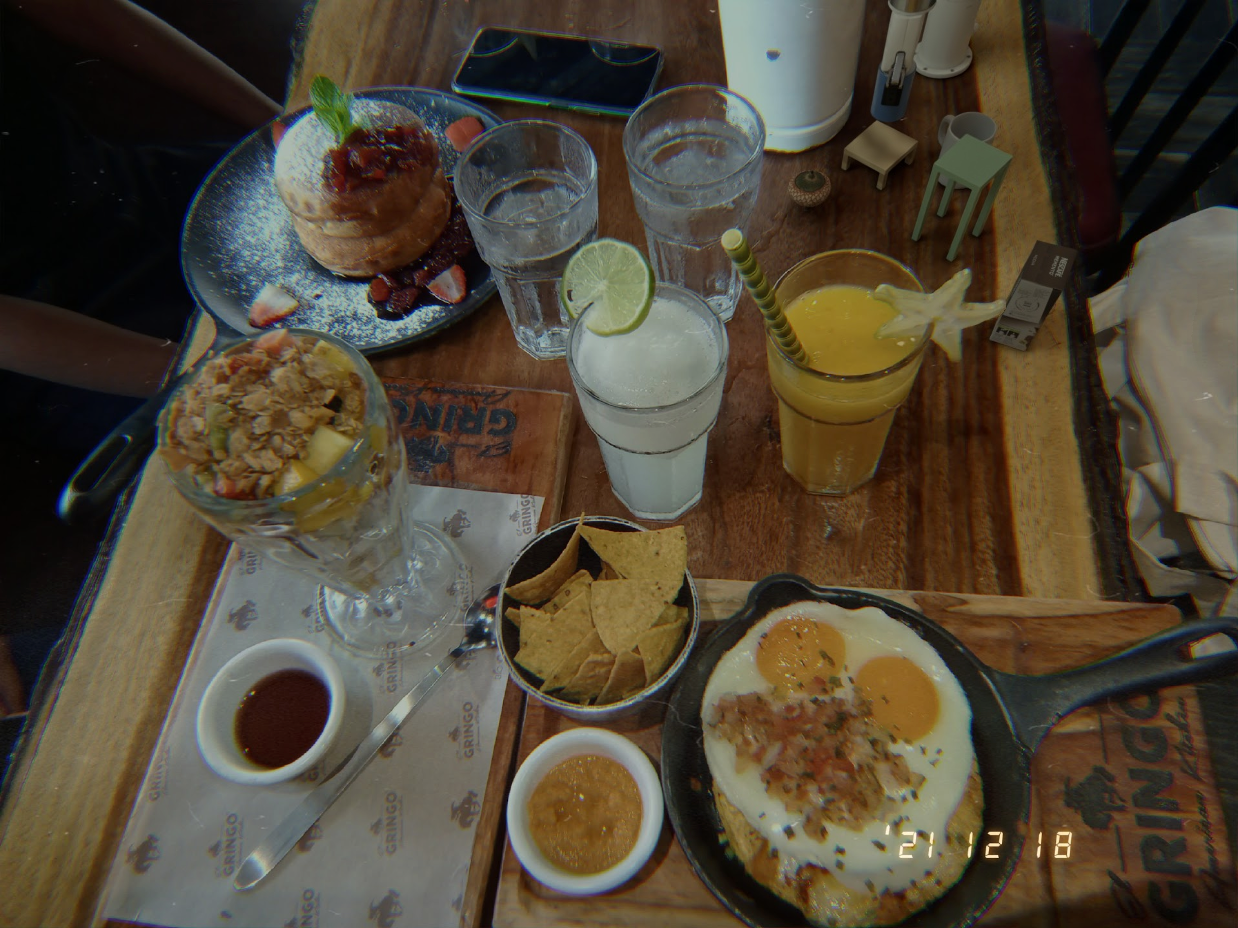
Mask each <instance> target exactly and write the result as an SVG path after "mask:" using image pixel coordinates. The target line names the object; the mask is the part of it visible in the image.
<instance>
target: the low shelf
mask: <svg viewBox="0 0 1238 928" xmlns="http://www.w3.org/2000/svg"><path fill="white" fill-rule="evenodd" d="M918 144H919V141H918V140H916V139H915V138H912V137H911V136H910V135H909V136H908V135H907V134H904V133H903V132H901V131H898V130H897V129H896V128H893V127H891V126H889V125H887V124H885V123H884V122H882V121H879V120H877V119H875V121H874V122H873V123H872V124H870V125H869V126H868V127H867V128H866V129H865V130H863V131H862V132H861V133H860V134H859V135H858V136H856V138H854V139H853V140H852V141H851V142H850V143H849V144H847V145H846V146H845V147H844V149H843V155H842V162H841V167H840V169H842V170H844V171H847V170H848V169H849V168H850V166H851V162H852V159H854V160H855V161H857V162H858V163H859V162H860V163H861V164H863V165H864V166H867V167H869V168H870V169H872V170H874V171H876V172H878V173H879V174H878V178H877V183H876V188H877V189H878V190H880V191H882V190H883V189H885V187H886V184H887V180H888V175H889V172H890V171H891V170H893V169H894V168H895V167H896V166H897V165H898V164H899V163H900V162H901V161H902V160H903V159H904V163H905V164H907V165H911V164H912V163H913V162H914V158H915V155H916V151H917V148H918Z"/></svg>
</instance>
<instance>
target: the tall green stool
mask: <svg viewBox="0 0 1238 928" xmlns="http://www.w3.org/2000/svg"><path fill="white" fill-rule="evenodd" d="M1013 158H1014V156H1013V155H1012V154H1009V153H1007V152H1005V151H1004V150H1001V149H999V148H997V147H996V146H993V145H989V144H987V143H985V142H983V141H981V140H979V139H977V138H975V137H973V136H970V135H968V134H966V135H964V136H963V137H962V138H961V139H960V140H959V141H958V142H957V143H956V144H955V145H954V146H952V147H951V148H950V149H949V150H948V151H947V152H946V153H945V154H944V155H943V156H942V157H940V158H939V157H938V159H937V160H936V161H935V162H934V163H933V164H932V168H931V172H930V175H929V179H928V181H927V184H926V185H927V186H926V189H925V192H924V196H923V199H922V202H921V204H920V208H919V211H918V215H917V218H916V222H915V224H914V229H913V231H912V235H911V240H913V241H915V242H918V240H920V238H921V236H922V233H923V230H924V226H925V223H926V221H927V218H928V215H929V212H930V208H931V205H932V202H933V198H934V196H935V191H936V190H937V186H938V183H939V181H938V180H939V177H940V174H943V175H945V176H947V177H949V179H948V182H947V185H946V186H945V188H944V190H943V195H942V198H941V200H940V204H939V205H938V206H939V207H938V210H937V212H936V215H937V216H939V217H940V218H943V217H944V216H945V215H946V214H947V212H948V208H949V206H950V203H951V201H952V197H953V195H954V194H953V193H954V191H955V189H954V188H955V185H956V183H957V182H958V183H960V184H962V185H964V186H966V187H967V189H970V190H971V192H970V194H969V197H968V200H967V202H966V205H965V208H964V210H963V213H962V215H961V219H960V221H959V223H958V226H957V229H956V230H955V231H956V232H955V233H954V237H953V239H952V242H951V245H950V248H949V250H948V254H947V256H946V258H945V259H947V261H949V262H953V261H954V260H955V259H956V258H957V256H958V253H959V250H960V248H961V245H962V243H963V240H964V237H965V235H966V232H967V229H968V227H969V225H970V223H971V220H972V217H973V216H974V215H973V214H974V212H975V210H976V206H977V204H978V203H979V199H980V196H981V194H982V191H983V189H984V188H985V187H986V186H988V184H989V183H990V182H992V183H991V185H990V188H989V191H988V193H987V196H986V198H985V200H984V203H983V205H982V207H981V210H980V213H979V215H978V218H977V220H976V222H975V225H974V228H973V230H972V233H971V235H972V236H975V237H979V236H980V235H981V234H982V233H983V230H984V227H985V225H986V223H987V220H988V218H989V216H990V213H991V211H992V209H993V206H994V203H995V201H996V199H997V196H998V195H999V192H1000V190H1001V186H1002V184H1003V182H1004V180H1005V177H1006V175H1007V172H1008V170H1009V168H1010V166H1011V163H1012V161H1013Z"/></svg>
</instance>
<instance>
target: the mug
mask: <svg viewBox="0 0 1238 928" xmlns="http://www.w3.org/2000/svg"><path fill="white" fill-rule="evenodd" d="M947 126H948V127H947ZM997 130H998V126H997V123H996V121H995V120H994V119H993V118H992V117H991V116H990V115H987V114H986V113H983V112H978V111H967V112H962V113H960V114H958V115H953V114H947V115H945V116H944V117H943V118H942V120H941V122H940V124H939V127H938V131H937V142H938V144H939V145H940V146H941V150H940V152H939V156H938V159H939V158H940V157H942V156H943V155H944V154H945V153H946V152H947V151H948V150H949V149H950V148H951V147H952V146H954V145H955V144H956V143H957V142H958V141H959V140H960V139H961V138H962V137H963V136H964V135H966V134H968V135H970V136H973V137H975V138H977V139H979V140H981V141H983V142H985V143H987V144H989V145H991V146H993V143H994V141H995V138H996V134H997V132H998V131H997ZM948 179H949V177H947V176H945V175H943V174H940V177H939V180H938V183H940V184H941V185H942V186H943V187H946V185H947V182H948ZM962 189H968V187H966V186H964V185H962V184H960V183H958V182H957V183H956V185H955V188H954V190H962Z"/></svg>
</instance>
